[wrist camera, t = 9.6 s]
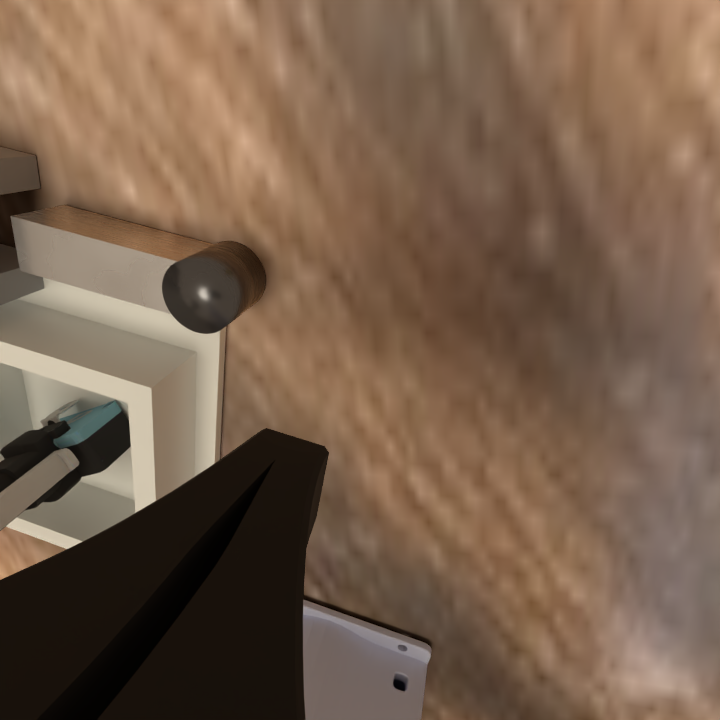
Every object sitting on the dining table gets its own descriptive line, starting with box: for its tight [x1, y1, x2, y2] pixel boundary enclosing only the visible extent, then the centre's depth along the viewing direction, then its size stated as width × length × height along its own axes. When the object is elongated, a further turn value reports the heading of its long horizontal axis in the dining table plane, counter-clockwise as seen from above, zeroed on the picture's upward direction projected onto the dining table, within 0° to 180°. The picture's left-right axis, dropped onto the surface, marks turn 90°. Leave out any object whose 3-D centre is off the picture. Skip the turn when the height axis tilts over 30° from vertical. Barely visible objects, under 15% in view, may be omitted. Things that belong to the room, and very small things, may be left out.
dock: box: [0, 147, 226, 549], centre depth 21 cm, size 12×19×4 cm, turn 169°
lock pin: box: [11, 205, 266, 334], centre depth 17 cm, size 8×3×3 cm, turn 79°
